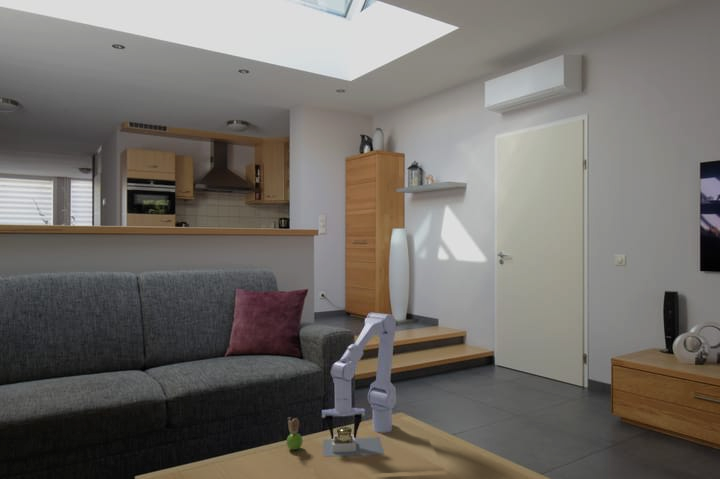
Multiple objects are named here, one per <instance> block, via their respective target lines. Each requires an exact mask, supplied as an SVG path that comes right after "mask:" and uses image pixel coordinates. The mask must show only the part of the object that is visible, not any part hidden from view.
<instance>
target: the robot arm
mask: <svg viewBox="0 0 720 479" xmlns="http://www.w3.org/2000/svg"><path fill="white" fill-rule="evenodd" d="M396 324H397V320H396V318H395V317H394V315H393V314H391V313H380V312H379V313H378V312H373V311H371V312H369V313H368V314H367V316H366V318H364V327H363V328H362V330H361V332H360V334H359V336H358V337H357V339H356V341H355V342H354V343H351V344H349V346H347V348H346V350H345V352H344V353H343V355H342V356H341V358H340V359H339V360H337V361H336V362H334V363H333V364H332V365H331V368H330V369H331V370H330V375H331V377H332V380H333V381H332V382H333V384H334V408H329V409H322V410H321V418H322V419H323V418H325V423H326V425H327V428H328V430H329V433H330V438H331V439H333V436H334V427H333V426H334V425H333V424H334V419H333V417H351V416H352V417H353V435H354V438H357V434H358V429H359V426H360V425H361V423H362V420H363V419H362V417H365V416H366V414H365V413H366V410H365V408H359V407H353V406H352V405H353V404H352V379H353V378H354V377H355V374H356V369H357V365H358V364H359V361H360V360H361V358H362V357H363V356H364V348H365V347H366V346H367V345H368V343H369V342H370V340H371V339H372V337H374V335H377V337H378V338H379V343H378V344H379V345H378V354H377V366H376V375H375V376H376V378H375V380H374V381H373V382H372V383H371V384H370V385H369V386H370V387H369V389H368V390H369V391H368V393H367V402H368V403H369V404H370V408H372V430H373V431H374V432H376V433H382V434H383V433H390V432H392V430H393V412H392V411H393V408H394V407H395V406H396V403H397V394H396V392H397V391H396V390H397V389H396V387H395V385H393V383H392V382H391V375H392V365H393V352H394V343H395V336H396V328H397V327H396V326H397V325H396Z"/></svg>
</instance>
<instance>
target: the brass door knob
mask: <svg viewBox="0 0 720 479" xmlns="http://www.w3.org/2000/svg"><path fill="white" fill-rule="evenodd" d="M336 433H337V435H338V444H339V443H351V435H352V433H353V432H352V427H350V426H340V427H338V428H337V429H336Z"/></svg>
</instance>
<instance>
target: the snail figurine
mask: <svg viewBox="0 0 720 479" xmlns="http://www.w3.org/2000/svg"><path fill="white" fill-rule="evenodd" d="M291 419H292V420H291ZM287 424H288V430H289V435H288V436H287V438H286V445H287V447H288V448H289V449H290V450H293V451H295V450H298V449H300V448H301V447H302V445H303V442H304V441H303V436H302V435H301V434H300V433H298V431H299V427H300V421H299V419H298V418H297V417H294V418H292V417H287Z"/></svg>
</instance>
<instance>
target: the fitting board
mask: <svg viewBox="0 0 720 479" xmlns="http://www.w3.org/2000/svg"><path fill="white" fill-rule="evenodd" d="M322 441H323V442H322V450H323V451H322V454H323V455H322V457H324V458H326V457H329V458H330V457H348V456H349V457H350V456H351V457H352V456H373V455H374V456H375V455H385V452H384V449H383V445H382V442H381V438H380V437H356V438H354V434H351V443H339V444H338V434H337V435H333V439H323V440H322Z"/></svg>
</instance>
